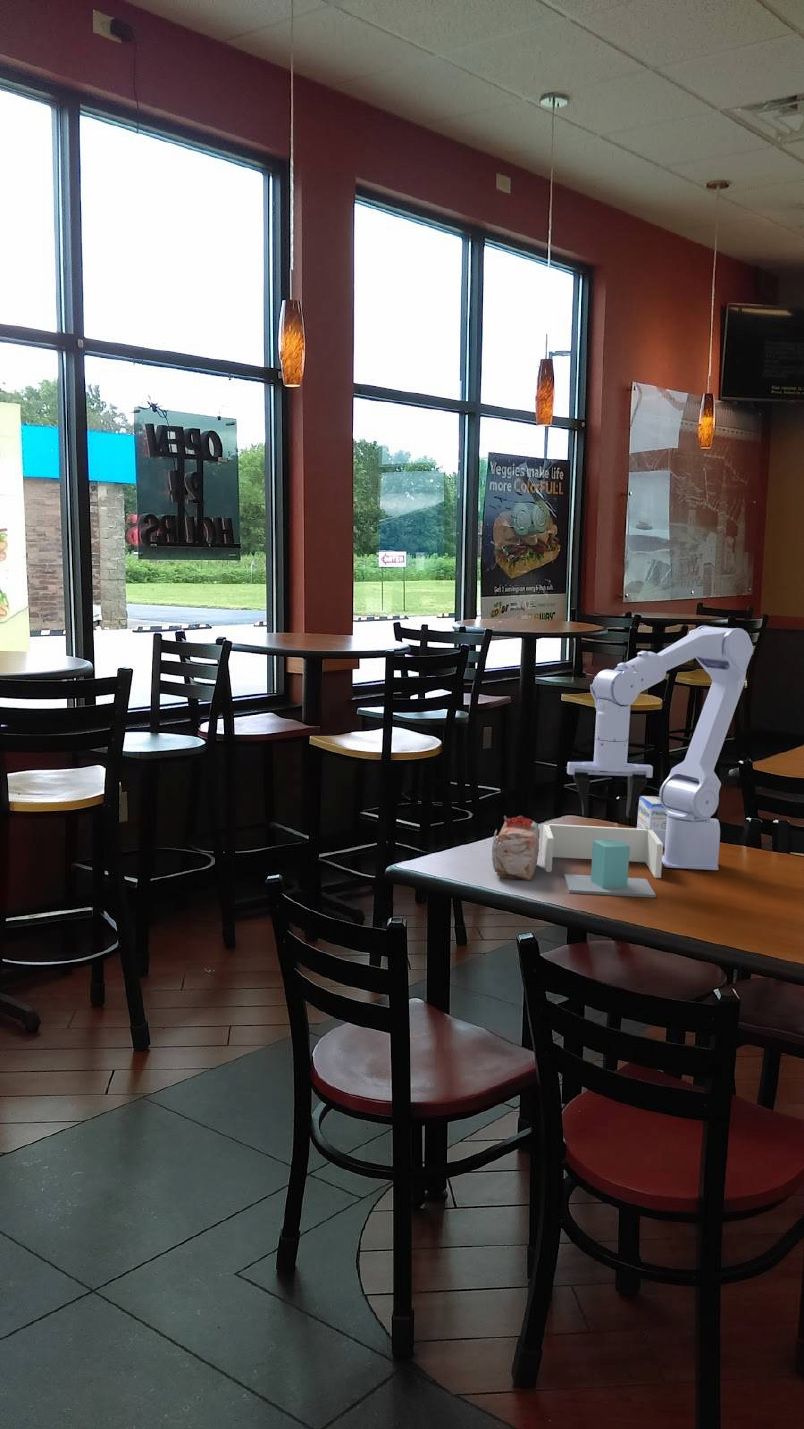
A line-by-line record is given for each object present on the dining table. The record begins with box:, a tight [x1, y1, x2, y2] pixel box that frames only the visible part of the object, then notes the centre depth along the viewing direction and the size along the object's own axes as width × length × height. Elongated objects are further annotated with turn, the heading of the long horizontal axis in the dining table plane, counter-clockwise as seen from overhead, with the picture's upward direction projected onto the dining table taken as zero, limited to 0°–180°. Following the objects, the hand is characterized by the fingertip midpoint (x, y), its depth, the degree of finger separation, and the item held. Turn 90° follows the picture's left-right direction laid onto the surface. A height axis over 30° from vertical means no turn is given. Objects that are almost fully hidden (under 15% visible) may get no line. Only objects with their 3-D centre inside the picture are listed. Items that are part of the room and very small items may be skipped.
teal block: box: [590, 840, 630, 888], centre depth 190 cm, size 4×4×7 cm
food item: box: [491, 815, 540, 881], centre depth 197 cm, size 14×8×10 cm, turn 171°
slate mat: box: [563, 873, 657, 898], centre depth 190 cm, size 14×10×1 cm
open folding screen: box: [541, 823, 664, 879], centre depth 204 cm, size 20×12×6 cm, turn 86°
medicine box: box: [636, 795, 667, 848], centre depth 224 cm, size 8×4×9 cm, turn 6°
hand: (607, 816), depth 197 cm, fingers open, 7 cm apart
